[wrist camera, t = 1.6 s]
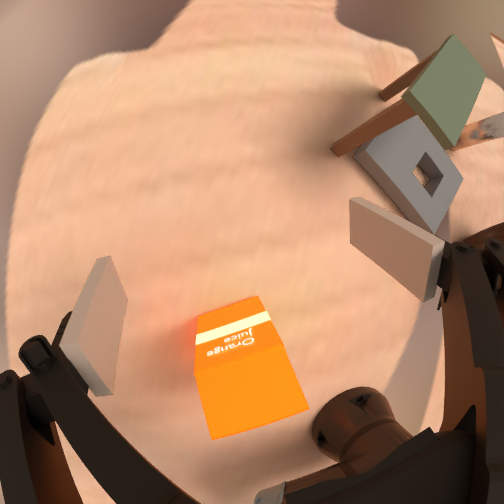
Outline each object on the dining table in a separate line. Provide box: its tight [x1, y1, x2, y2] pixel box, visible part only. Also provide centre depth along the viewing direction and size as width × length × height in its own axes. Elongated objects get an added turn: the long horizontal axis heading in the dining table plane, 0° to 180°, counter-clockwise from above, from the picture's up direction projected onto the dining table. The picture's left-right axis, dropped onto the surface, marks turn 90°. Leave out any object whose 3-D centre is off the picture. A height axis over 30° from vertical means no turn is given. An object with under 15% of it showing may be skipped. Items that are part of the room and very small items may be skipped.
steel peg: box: [449, 112, 504, 151], centre depth 37 cm, size 4×4×16 cm
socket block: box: [353, 115, 463, 234], centre depth 42 cm, size 18×14×4 cm
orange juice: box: [194, 296, 310, 440], centre depth 30 cm, size 8×9×20 cm
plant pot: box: [463, 222, 504, 288], centre depth 39 cm, size 15×15×16 cm
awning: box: [331, 34, 486, 157], centre depth 32 cm, size 7×18×21 cm, turn 139°
